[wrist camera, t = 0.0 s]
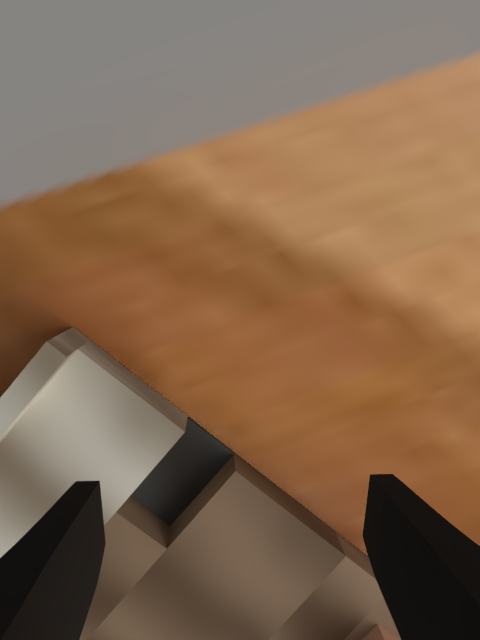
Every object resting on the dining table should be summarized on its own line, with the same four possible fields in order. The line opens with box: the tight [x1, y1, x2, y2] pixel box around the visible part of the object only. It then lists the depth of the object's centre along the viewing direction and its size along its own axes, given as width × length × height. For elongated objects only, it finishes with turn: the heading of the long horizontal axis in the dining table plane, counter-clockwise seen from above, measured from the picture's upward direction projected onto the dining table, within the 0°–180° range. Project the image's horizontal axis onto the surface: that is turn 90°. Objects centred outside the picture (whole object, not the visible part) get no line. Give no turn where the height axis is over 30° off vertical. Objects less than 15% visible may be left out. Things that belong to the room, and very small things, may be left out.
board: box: [0, 327, 401, 640], centre depth 22 cm, size 14×26×4 cm, turn 50°
